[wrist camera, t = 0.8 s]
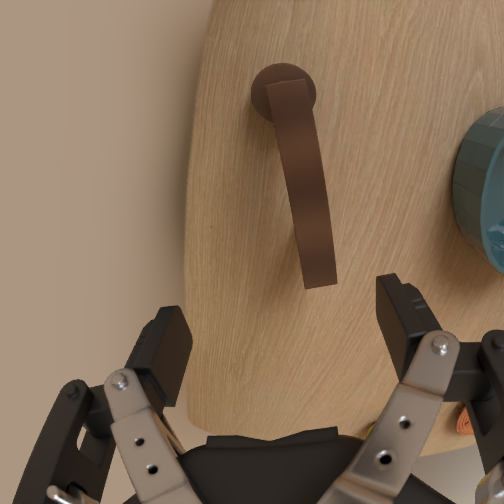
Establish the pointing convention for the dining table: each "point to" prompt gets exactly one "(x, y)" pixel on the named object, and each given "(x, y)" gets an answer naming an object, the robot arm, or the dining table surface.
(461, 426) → the ring
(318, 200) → the brown wooden bracket
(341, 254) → the dining table surface
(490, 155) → the mixing bowl
